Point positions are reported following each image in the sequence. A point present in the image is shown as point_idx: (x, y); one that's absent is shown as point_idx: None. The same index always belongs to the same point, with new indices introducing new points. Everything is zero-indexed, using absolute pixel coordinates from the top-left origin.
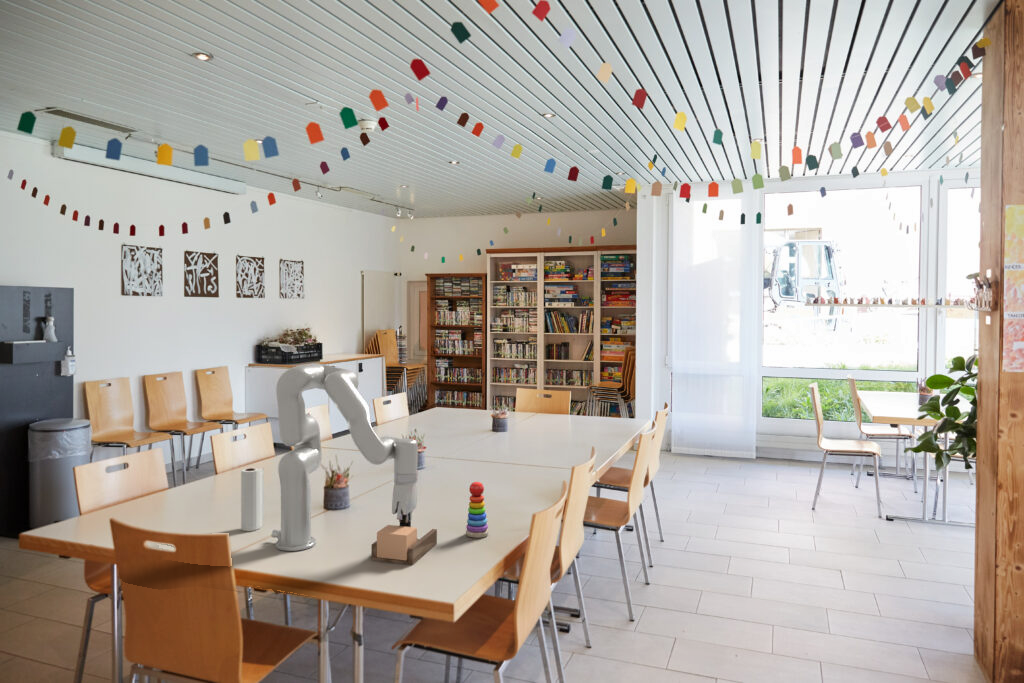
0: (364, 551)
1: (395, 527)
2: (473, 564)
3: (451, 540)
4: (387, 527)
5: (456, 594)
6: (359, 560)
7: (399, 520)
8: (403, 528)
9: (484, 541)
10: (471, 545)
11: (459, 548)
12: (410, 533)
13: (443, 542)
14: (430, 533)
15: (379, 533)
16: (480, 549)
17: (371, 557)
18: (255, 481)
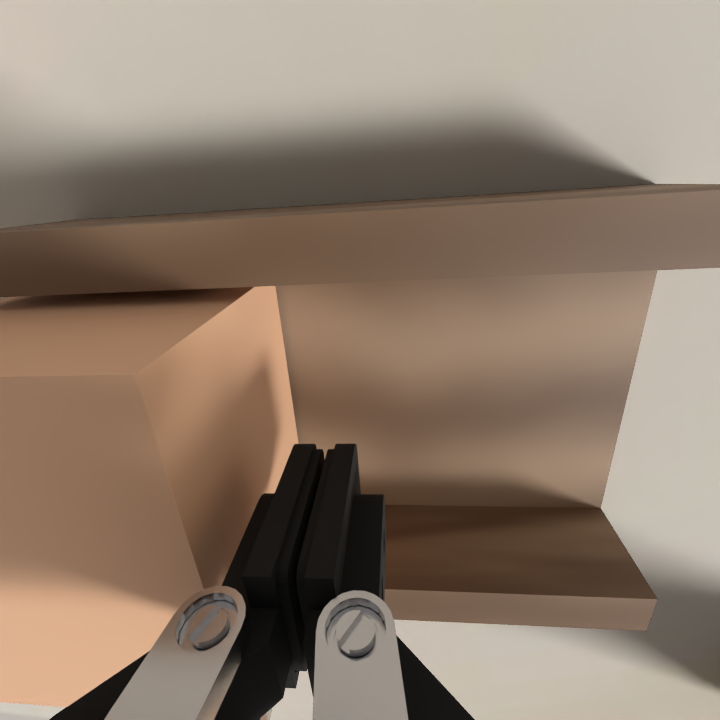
0: (207, 3)
1: (97, 531)
2: None
3: (681, 573)
4: (12, 429)
5: (29, 710)
6: (2, 115)
7: (169, 630)
8: (130, 624)
9: (677, 706)
10: (593, 671)
11: (526, 635)
12: (73, 695)
13: (629, 543)
14: (507, 616)
15: None
16: (534, 708)
17: (56, 222)
18: None
